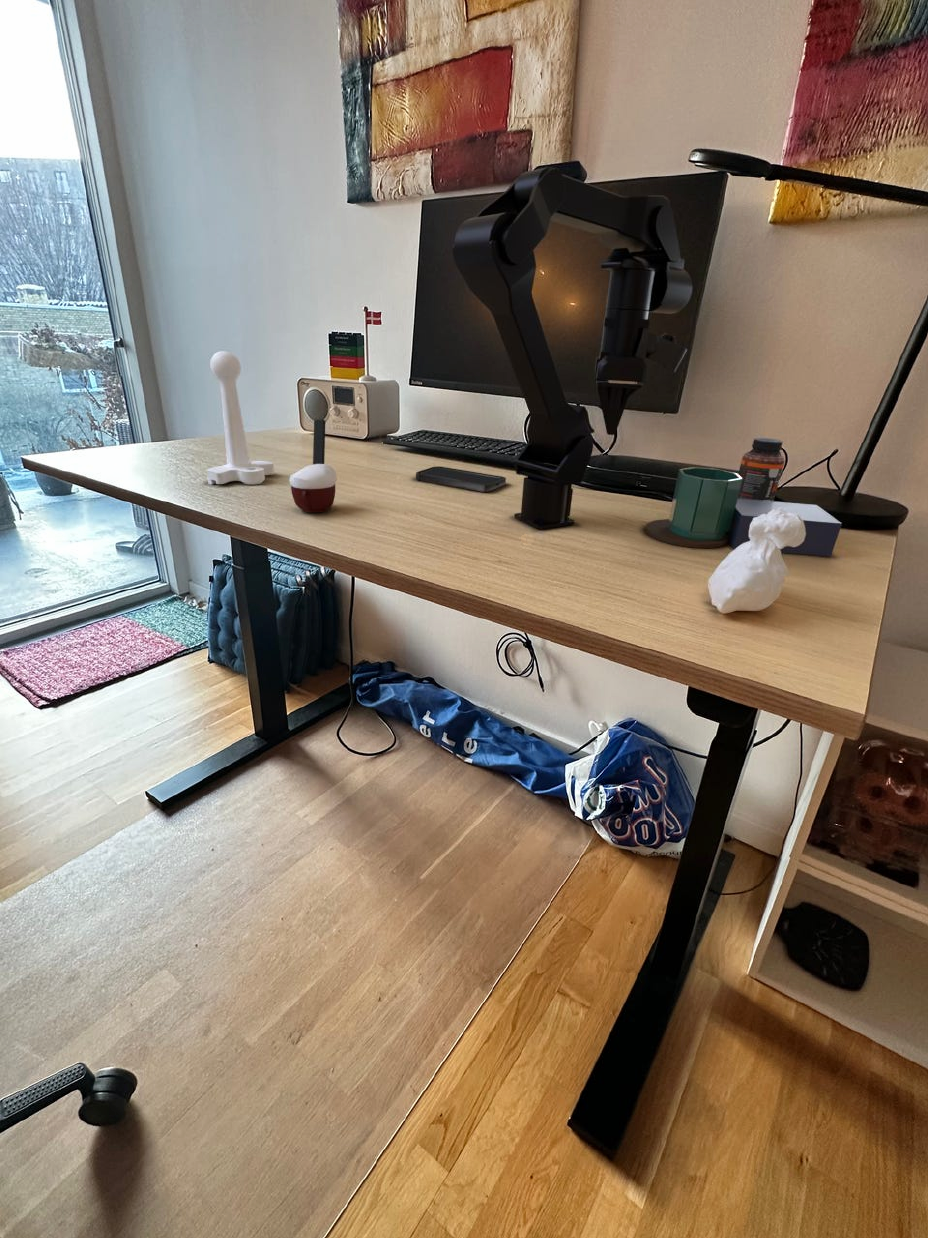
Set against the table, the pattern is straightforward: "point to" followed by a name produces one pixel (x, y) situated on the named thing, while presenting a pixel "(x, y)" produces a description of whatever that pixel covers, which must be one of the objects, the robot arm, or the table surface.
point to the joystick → (234, 429)
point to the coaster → (662, 533)
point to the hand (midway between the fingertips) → (609, 429)
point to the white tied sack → (756, 564)
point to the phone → (461, 478)
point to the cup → (704, 503)
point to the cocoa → (315, 478)
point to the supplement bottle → (761, 470)
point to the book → (815, 519)
